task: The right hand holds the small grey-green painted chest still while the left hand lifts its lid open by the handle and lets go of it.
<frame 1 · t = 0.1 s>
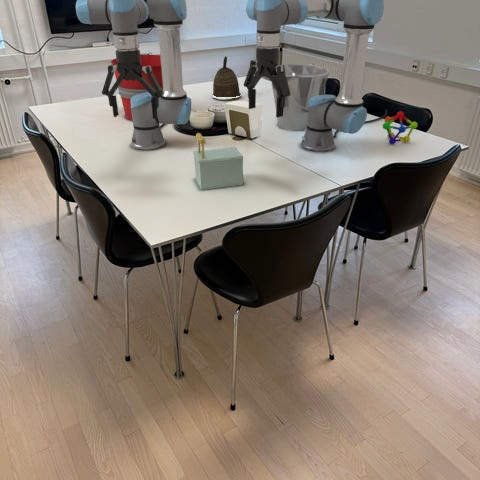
left hand: (135, 116, 150), 28 cm above the table, tool pointing down, fingers open, 13 cm apart
right hand: (265, 112, 155), 28 cm above the table, tool pointing down, fingers open, 13 cm apart
educational toy: (395, 143, 211), on the table
bucket 2: (148, 115, 247), on the table
lid: (217, 145, 164), point 15 cm above the table, hinge at 0.0°
bucket: (295, 125, 233), on the table
bell: (226, 97, 281), on the table
chest: (218, 182, 172), on the table
smartphone: (219, 158, 193), on the table
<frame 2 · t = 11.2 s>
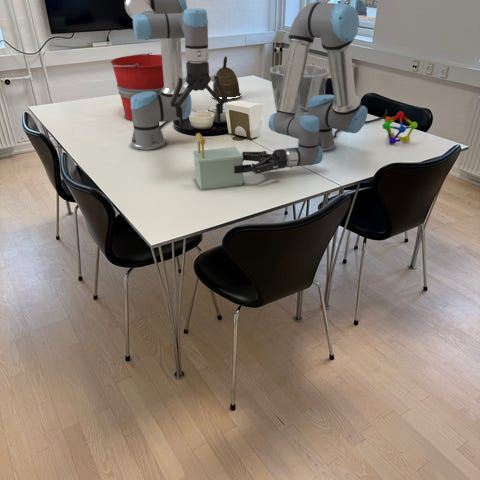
left hand: (200, 124, 158), 23 cm above the table, tool pointing down, fingers open, 13 cm apart
right hand: (230, 164, 170), 7 cm above the table, tool horizontal, fingers closed on chest, 10 cm apart
chest: (218, 182, 172), on the table, touching right hand
everything else where it was.
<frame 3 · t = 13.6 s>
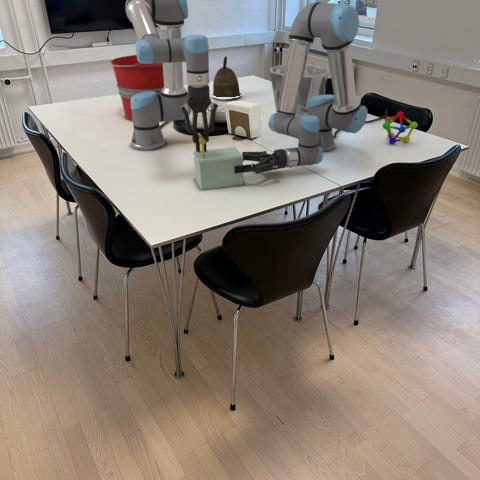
left hand: (201, 150, 163), 13 cm above the table, tool pointing down, fingers closed on lid, 2 cm apart
right hand: (230, 164, 170), 7 cm above the table, tool horizontal, fingers closed on chest, 10 cm apart
lid: (217, 145, 164), point 15 cm above the table, hinge at -0.1°, touching left hand
chest: (218, 182, 172), on the table, touching right hand
everything else where it was.
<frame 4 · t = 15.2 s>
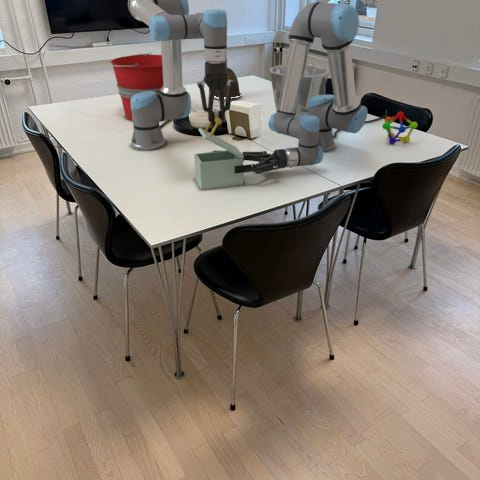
left hand: (216, 129, 161), 21 cm above the table, tool pointing down, fingers closed on lid, 2 cm apart
right hand: (230, 164, 170), 7 cm above the table, tool horizontal, fingers closed on chest, 10 cm apart
lid: (226, 134, 163), point 19 cm above the table, hinge at 32.3°, touching left hand
chest: (218, 182, 172), on the table, touching right hand
everything else where it was.
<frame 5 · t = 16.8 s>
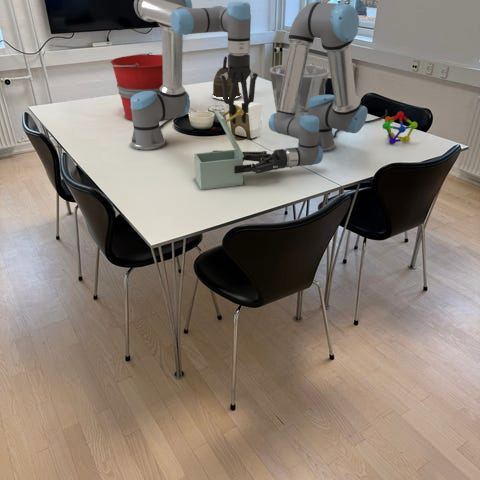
left hand: (238, 122, 162), 23 cm above the table, tool pointing down, fingers open, 3 cm apart
right hand: (230, 164, 170), 7 cm above the table, tool horizontal, fingers closed on chest, 10 cm apart
lid: (238, 129, 163), point 20 cm above the table, hinge at 63.2°
chest: (218, 182, 172), on the table, touching right hand
everything else where it was.
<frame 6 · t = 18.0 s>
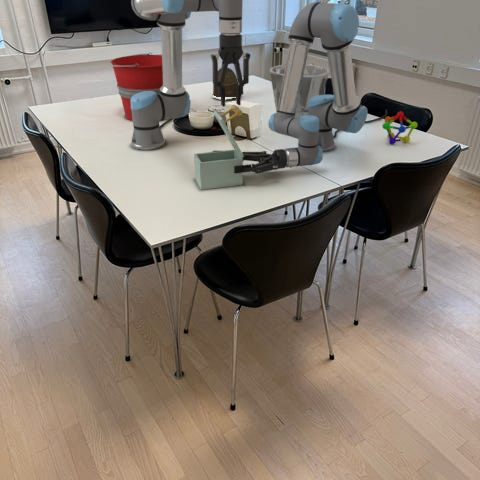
left hand: (230, 104, 158), 29 cm above the table, tool pointing down, fingers open, 5 cm apart
right hand: (230, 164, 170), 7 cm above the table, tool horizontal, fingers closed on chest, 10 cm apart
lid: (237, 129, 163), point 20 cm above the table, hinge at 61.4°
chest: (218, 182, 172), on the table, touching right hand
everything else where it was.
when the right hand's fingers open (7 cm above the table, at t = 20.5 s): chest stays where it is, on the table.
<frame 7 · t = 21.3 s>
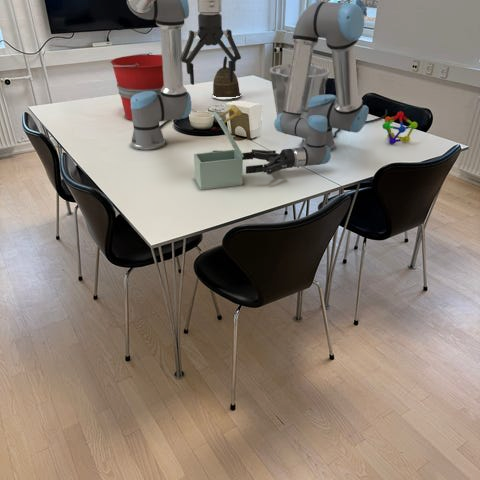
left hand: (211, 82, 152), 37 cm above the table, tool pointing down, fingers open, 13 cm apart
right hand: (241, 163, 171), 7 cm above the table, tool horizontal, fingers open, 13 cm apart
lid: (236, 129, 163), point 20 cm above the table, hinge at 60.8°
chest: (218, 182, 172), on the table
everything else where it was.
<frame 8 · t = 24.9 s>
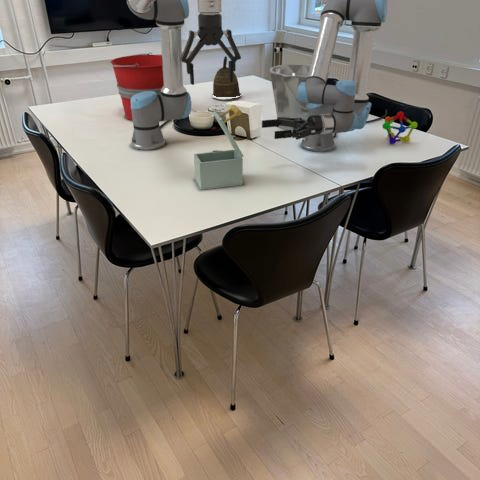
left hand: (211, 82, 152), 37 cm above the table, tool pointing down, fingers open, 13 cm apart
right hand: (268, 129, 167), 19 cm above the table, tool horizontal, fingers open, 13 cm apart
nothing on the table moved.
at the end: lid at +61° (first picture: +0°); the left hand is holding nothing; the right hand is holding nothing; chest tilted 0°; chest never tilted more than 1° during the clip; chest moved 0.1 cm from its start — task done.
